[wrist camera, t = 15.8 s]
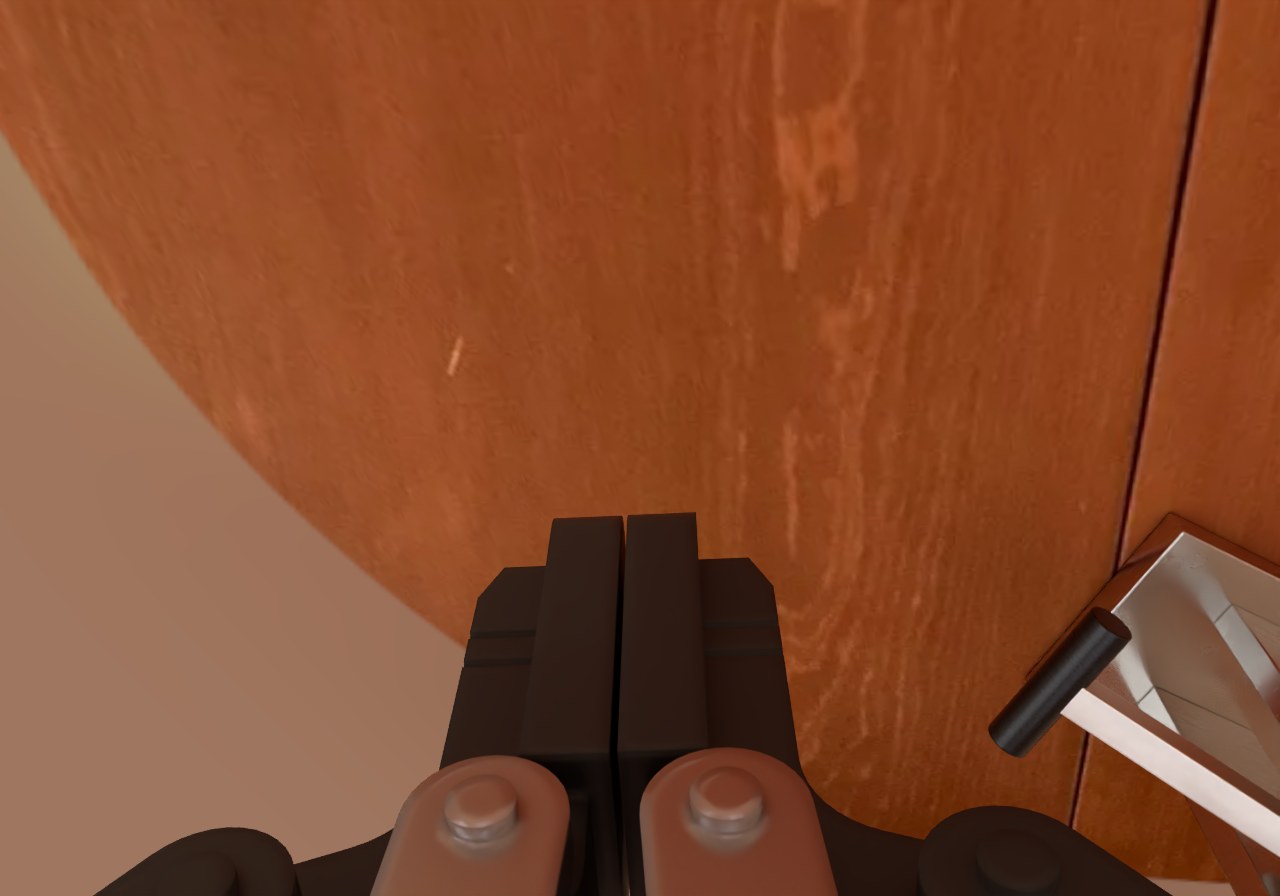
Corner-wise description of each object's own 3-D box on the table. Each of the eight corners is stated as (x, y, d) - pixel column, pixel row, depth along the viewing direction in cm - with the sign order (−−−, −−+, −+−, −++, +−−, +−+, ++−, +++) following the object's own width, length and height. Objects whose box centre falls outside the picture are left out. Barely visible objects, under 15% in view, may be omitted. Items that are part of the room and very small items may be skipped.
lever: (989, 707, 36) (985, 750, 34) (1091, 590, 34) (1093, 628, 32) (1336, 937, 35) (1354, 996, 33) (1464, 831, 33) (1493, 887, 31)
